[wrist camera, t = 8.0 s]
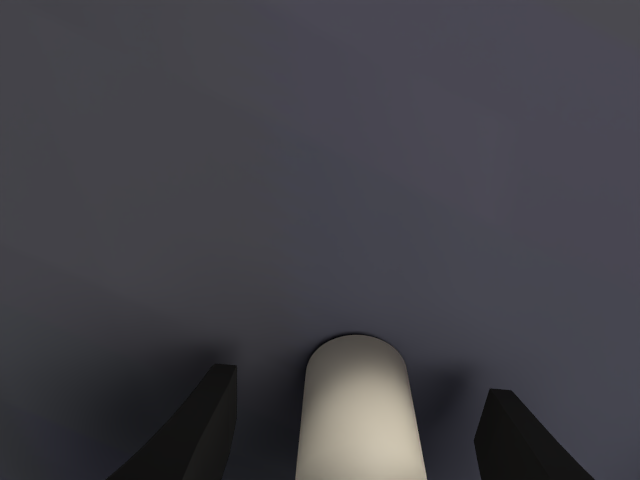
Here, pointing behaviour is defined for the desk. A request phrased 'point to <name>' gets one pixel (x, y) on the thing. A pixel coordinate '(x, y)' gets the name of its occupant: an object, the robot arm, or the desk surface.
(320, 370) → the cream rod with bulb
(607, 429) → the desk surface
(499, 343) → the desk surface
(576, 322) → the desk surface
